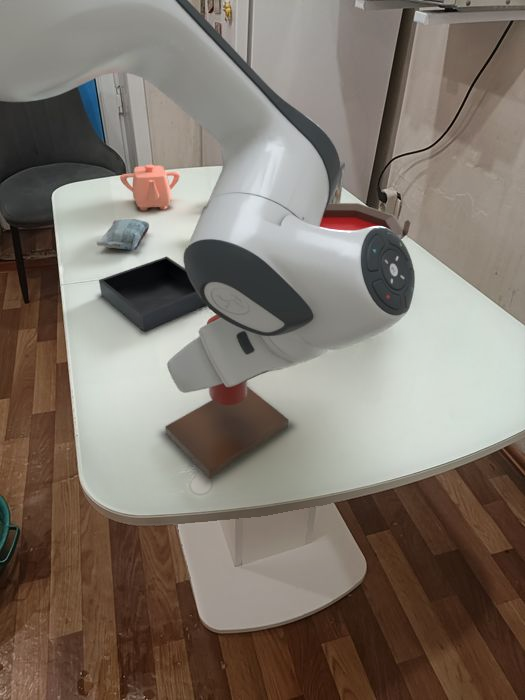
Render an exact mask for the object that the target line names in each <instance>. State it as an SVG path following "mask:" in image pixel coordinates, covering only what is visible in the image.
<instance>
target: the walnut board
mask: <svg viewBox="0 0 525 700" xmlns="http://www.w3.org/2000/svg"><path fill="white" fill-rule="evenodd" d="M288 426H289V418H287V417H286V416H285V415H284V414H282V413H281V412H280V411H279V410H277V408H275V407H274V406H272V405H271V404H270V403H269V402H267V401H266V400H265V399H264V398H262V397H261V396H260V395H258V393H256V392H254V390H252V389H251V388H249V386H247V395H246V397H245V398H244V400H242V401H241V402H239V403H237V404H234V405H222V404H218V403H216V402H215V401H213V400H212V399H211V400H209V401H208V402H206V403H204V404H203V405H201V406H199V407H197V408H196V409H194V410H192V411H190V412H188V413H187V414H184V415H183V416H181V417H180V418H178V419H176V420H174V421H173V422H171V423H169V424H167V425H165V427H164V428H165V435H166V436H168V437H169V438H170V439H171V441H173V442H174V443H175V444H176V446H177V447H178V448H179V449H180V450H181V451H183V453H184V454H185V455H186V456H187V457H188V458H189V459H190V460H191V461H192V462H193V463H194V464H195V465H196V466H197V467H198V468H199V469H200V470H201V471H202V472H203V473H204V475H206V476H207V478H209V479H211V478H213V477H214V476H216V475H217V474H219V473H220V472H222V471H223V470H225V469H226V468H227V467H229V466H232V464H234V463H235V462H237V461H238V460H240V459H241V458H243V457H244V456H246V455H247V454H248V453H250V452H252V451H253V450H255V449H256V448H258V447H259V446H261V445H262V444H264V443H265V442H267V441H268V440H271V438H273V437H274V436H276V435H278V434H279V433H280V432H282V431H284V430H285V429H287V428H288Z"/></svg>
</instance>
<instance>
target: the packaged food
mask: <svg viewBox="0 0 525 700" xmlns="http://www.w3.org/2000/svg"><path fill="white" fill-rule="evenodd" d="M149 228H150V224H149V222H148V221H145V220H140V219H137V218H122V219H120V218H119V219H116V220H113V222H112V225H111V226H110V227H109V229H108V230H107V231H106V233H105V234H104V235H103V236H102V238H101V239H100V240H99V242H98V241H97V242H96V245H97V246H98V247H105V248H110V249H117V250H118V249H119V250H127V251H128V250H129V251H136V250H138V247H139V246H140V244H141V241H143V239H144V237H145V236H146V234H147V233H148V231H149Z"/></svg>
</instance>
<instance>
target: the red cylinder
mask: <svg viewBox="0 0 525 700" xmlns="http://www.w3.org/2000/svg"><path fill="white" fill-rule="evenodd" d="M219 317H220V316H218V315H217V314H215V315H213V316H211V317H210V318H209V319H208V320H207V322H206V325H207V324H208V323H209V322H211V321H213V320H215V319H217V318H219ZM247 387H248V380H247V381H245V382H243V383H240V384H237V385H235V386H232V387H226V386H225V385H224V383H222V384H219V385H216V386H213V387H210V388H208V393H209V397H210V400H211V401H212V400H213V401H215V402H216V403H218V404H222V405H234V404H237V403H239V402H241V401H242V400H244V398H245V397H246V395H247Z"/></svg>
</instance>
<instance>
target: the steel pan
mask: <svg viewBox="0 0 525 700" xmlns="http://www.w3.org/2000/svg"><path fill="white" fill-rule="evenodd" d="M98 283H99V289H100V294H101V297H103V299H104V300H106V301H107V302H108V303H109V304H111V306H113V307H114V308H116V310H118V311H119V312H120V313H121V314H122V315H124V317H126V318H127V319H128V320H129V321H131V322H132V323H133V324H134V325H135V326H136V327H138V329H140V330H141V331H142V332H144V333H145V332H148V331H150V330H152V329H155V328H157V327H159V326H161V325H165V324H167V323H168V322H171V321H173V320H175V319H178V318H180V317H183V316H184V315H187V314H190V313H191V312H194V311H196V310H199V309H201V308H203V307H207V306H206V304H205V303H204V302H203V300H202V299H201V298H200V296H199V295H198V293H197V292H196V290H195V289H194V287H193V286H192V284H191V282H190V280H189V277H188V275H187V272H186V269H185V267H184V266H182V265H181V264H179V263H178V262H176V261H175V260H173V259H172V258H170V257H168V256H164V257H161V258H157V259H155V260H152V261H150V262H146V263H143V264H141V265H138V266H135V267H132V268H130V269H126V270H124V271H121V272H118V273H115V274H112V275H109V276H107V277H103V278H100V279H98Z"/></svg>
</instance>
